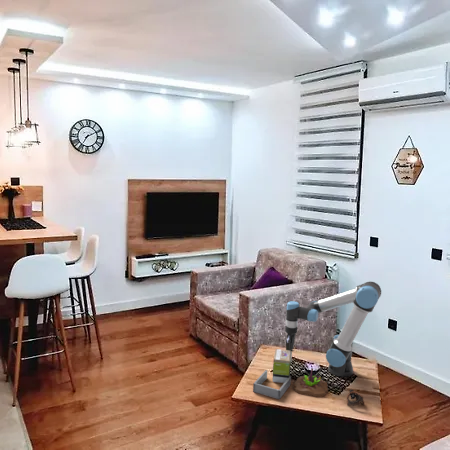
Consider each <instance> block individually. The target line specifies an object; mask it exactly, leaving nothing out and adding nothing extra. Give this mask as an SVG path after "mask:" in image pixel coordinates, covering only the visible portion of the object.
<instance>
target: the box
mask: <svg viewBox="0 0 450 450" xmlns="http://www.w3.org/2000/svg"><path fill="white" fill-rule="evenodd" d="M267 378H268V370H267V369H266V370H265V371H263V373H261V375H260V376H259V377H258V378H257V379H256V380H255V381H254V382H253V386H252V392H253V393H256V394H259V395H262V396H266V397H270V398H273V399H276V400H281V398H282V397H283V396H284V394H285V393H286V391H287V390H288V388H290V386H291V385H292V384H291V381H292V376H291V375H290V376H289V378H288V379H287V380H286V381H285V383H282V385H281V386H280V388H279V389H277V388H273V387H271V386H267V385H264V384H263V383H264V382H265V381H266V380H267Z"/></svg>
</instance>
